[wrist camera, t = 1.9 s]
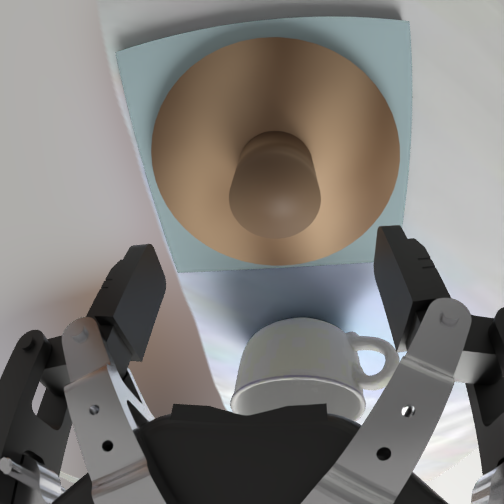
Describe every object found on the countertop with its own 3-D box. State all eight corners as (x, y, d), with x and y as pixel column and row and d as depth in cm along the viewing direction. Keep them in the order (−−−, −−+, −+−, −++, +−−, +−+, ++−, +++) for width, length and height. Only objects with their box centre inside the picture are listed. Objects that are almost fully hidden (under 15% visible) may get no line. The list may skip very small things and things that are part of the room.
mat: (402, 21, 13) (409, 21, 12) (393, 252, 22) (396, 260, 22) (123, 51, 15) (115, 52, 14) (181, 264, 25) (177, 272, 24)
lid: (393, 36, 13) (433, 38, 9) (385, 249, 21) (404, 301, 17) (133, 63, 15) (87, 77, 11) (187, 261, 23) (169, 313, 19)
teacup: (270, 376, 34) (266, 443, 27) (217, 317, 28) (202, 397, 22) (395, 343, 29) (411, 414, 23) (374, 268, 23) (398, 355, 17)
